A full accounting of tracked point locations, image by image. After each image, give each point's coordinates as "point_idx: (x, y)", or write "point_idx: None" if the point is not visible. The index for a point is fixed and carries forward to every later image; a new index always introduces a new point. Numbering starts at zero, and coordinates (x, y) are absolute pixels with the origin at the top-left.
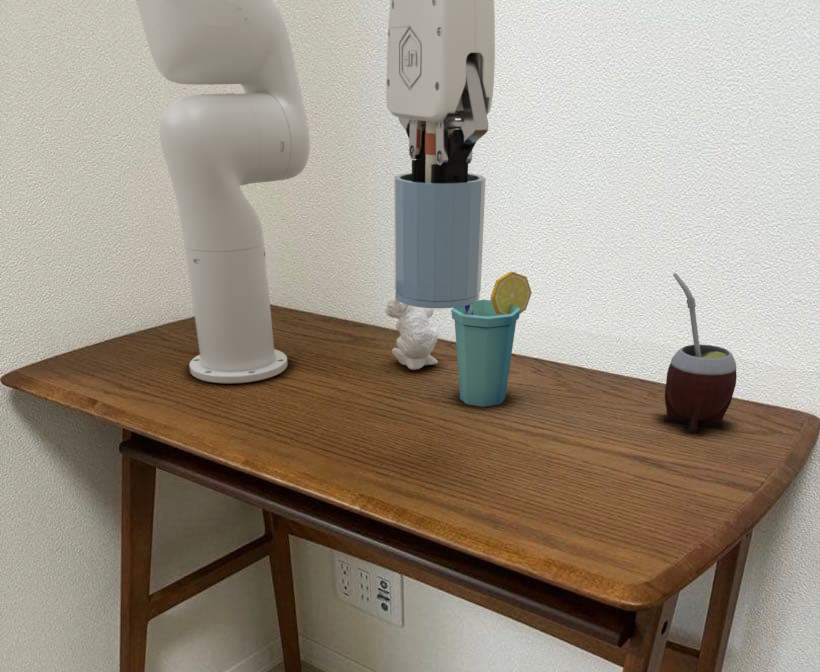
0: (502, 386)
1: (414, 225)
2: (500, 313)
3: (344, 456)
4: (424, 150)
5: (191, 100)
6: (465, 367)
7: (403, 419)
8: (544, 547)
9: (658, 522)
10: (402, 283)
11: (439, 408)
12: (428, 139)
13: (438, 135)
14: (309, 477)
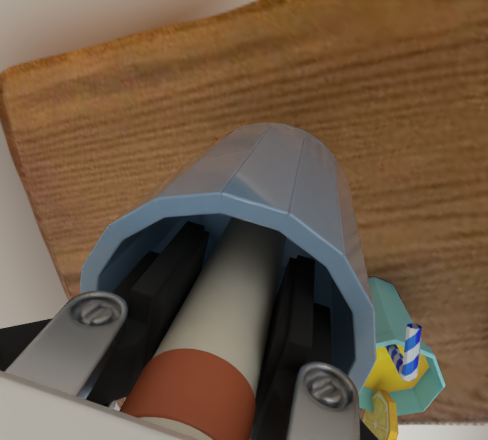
0: None
1: (210, 160)
2: (378, 391)
3: (381, 60)
4: (277, 405)
5: None
6: (382, 300)
7: (405, 195)
8: (83, 73)
9: (65, 183)
10: (276, 129)
11: (393, 248)
12: (180, 395)
13: (57, 370)
14: None
